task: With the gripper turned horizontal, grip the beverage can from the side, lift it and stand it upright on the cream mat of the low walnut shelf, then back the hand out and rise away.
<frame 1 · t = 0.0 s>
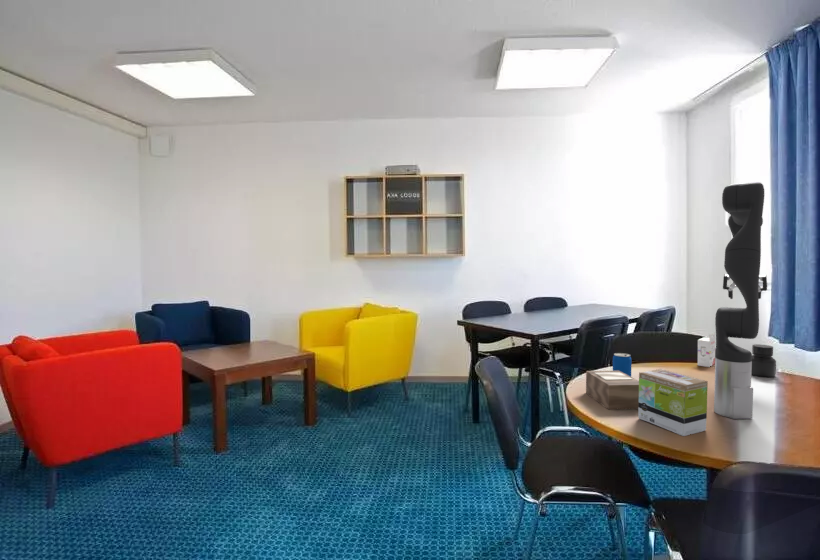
hand: (744, 298, 185), 31 cm above the table, tool tilted 20°, fingers open, 8 cm apart
beverage can: (621, 386, 174), on the table
tea box: (671, 425, 134), on the table
ink bottle: (761, 375, 188), on the table
ink cartridge box: (705, 365, 205), on the table
walnut shelf: (614, 400, 157), on the table
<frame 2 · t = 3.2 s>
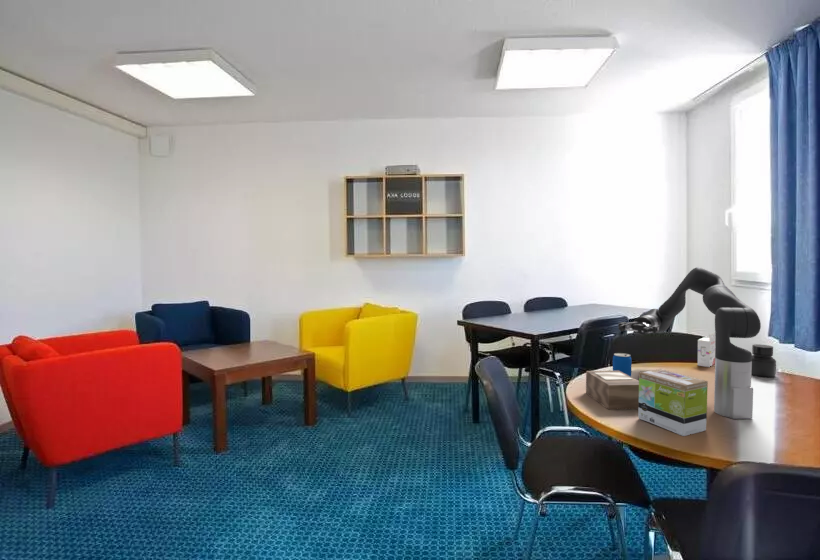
hand: (632, 329, 181), 20 cm above the table, tool horizontal, fingers open, 8 cm apart
nothing on the table moved.
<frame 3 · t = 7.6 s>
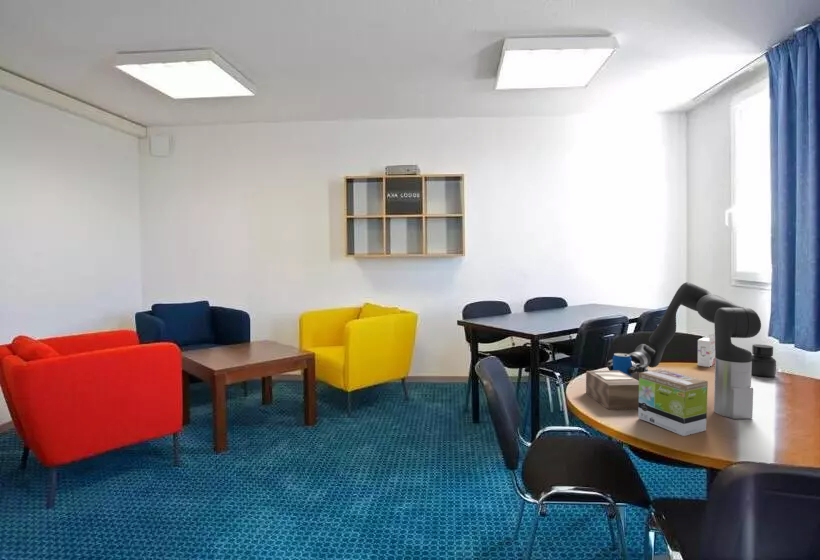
hand: (619, 370, 172), 7 cm above the table, tool horizontal, fingers closed on beverage can, 6 cm apart
beverage can: (621, 386, 174), on the table, touching gripper
everything else where it was.
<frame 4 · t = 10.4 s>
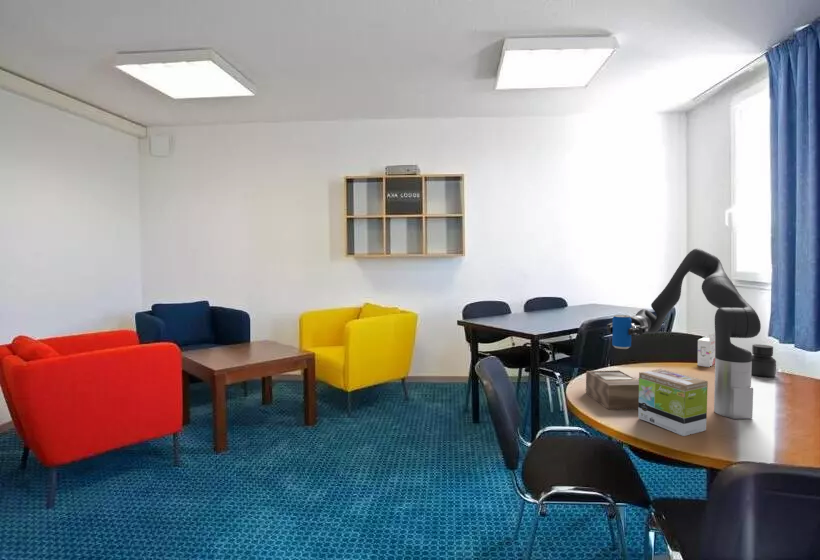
hand: (619, 331, 169), 22 cm above the table, tool horizontal, fingers closed on beverage can, 6 cm apart
beverage can: (621, 348, 172), point 15 cm above the table, touching gripper
everything else where it was.
when the fingers open (16 cm above the table, at t = 13.0 s): beverage can drops 1 cm, resting on walnut shelf.
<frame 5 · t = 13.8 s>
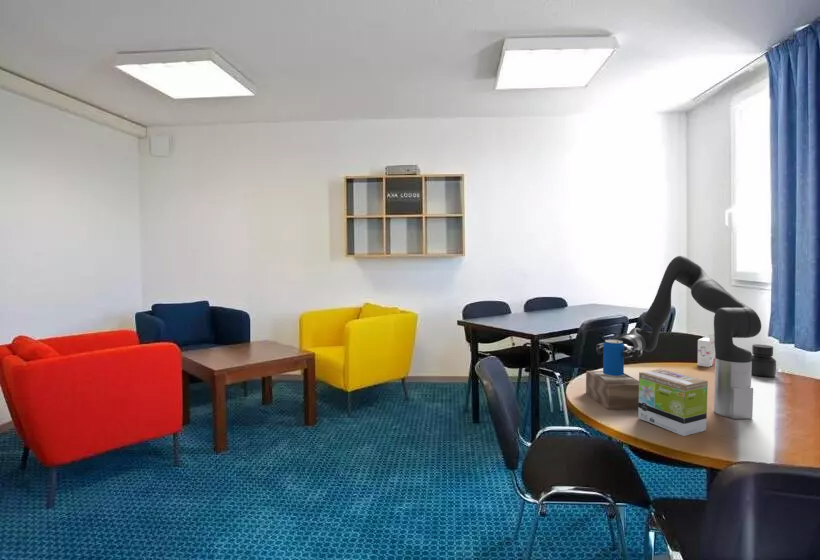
hand: (611, 353, 156), 16 cm above the table, tool horizontal, fingers open, 8 cm apart
beverage can: (613, 376, 158), point 8 cm above the table, touching walnut shelf
everything else where it was.
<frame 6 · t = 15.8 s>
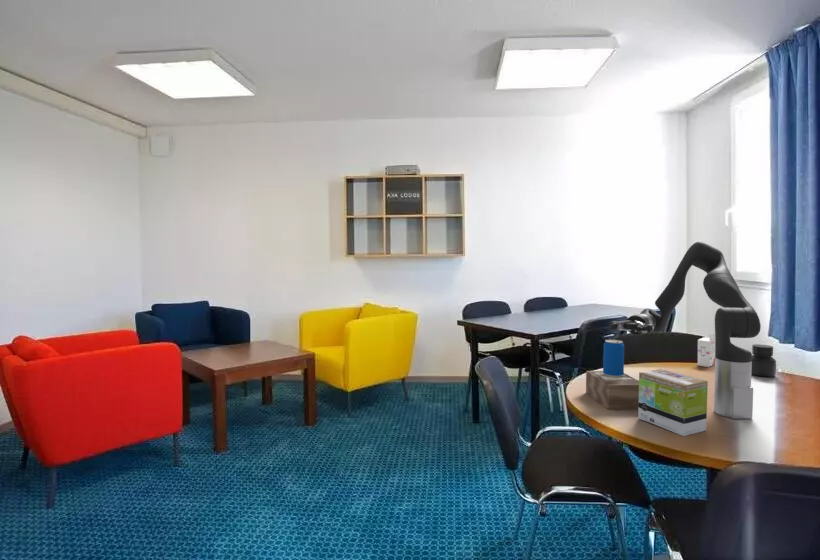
hand: (624, 328, 165), 23 cm above the table, tool horizontal, fingers open, 8 cm apart
nothing on the table moved.
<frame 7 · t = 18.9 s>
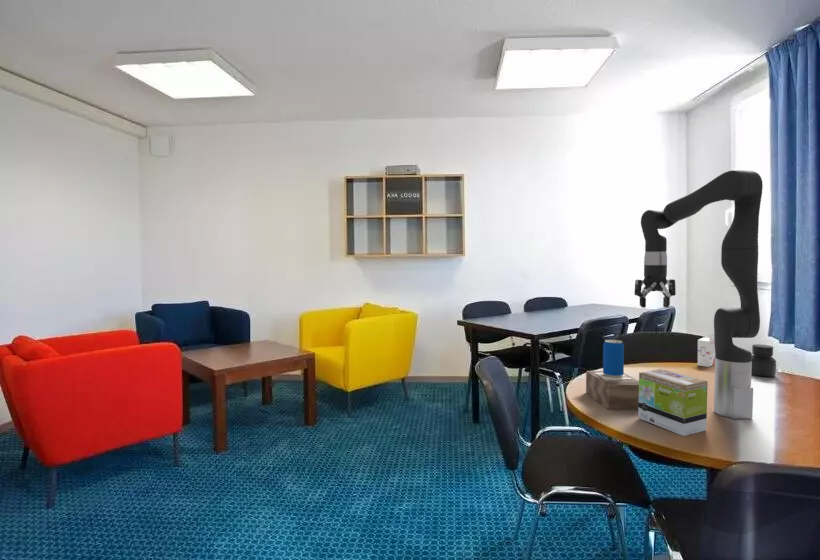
hand: (654, 307, 171), 30 cm above the table, tool pointing down, fingers open, 8 cm apart
nothing on the table moved.
at the end: beverage can inside the target area on the walnut shelf (0.1 cm from its centre), point 8.1 cm above the walnut shelf's base; beverage can tilted 0°; the gripper is holding nothing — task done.
